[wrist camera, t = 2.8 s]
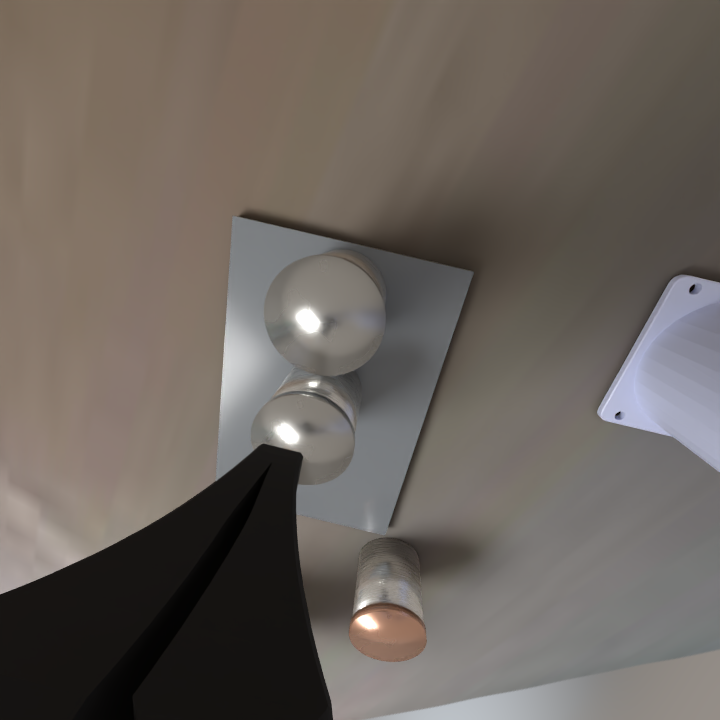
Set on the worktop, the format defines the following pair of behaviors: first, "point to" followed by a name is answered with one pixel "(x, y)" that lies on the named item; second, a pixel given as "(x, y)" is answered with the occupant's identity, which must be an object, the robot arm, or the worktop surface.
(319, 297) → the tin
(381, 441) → the slate board
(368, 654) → the cylinder
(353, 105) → the worktop surface
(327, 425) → the tin middle
